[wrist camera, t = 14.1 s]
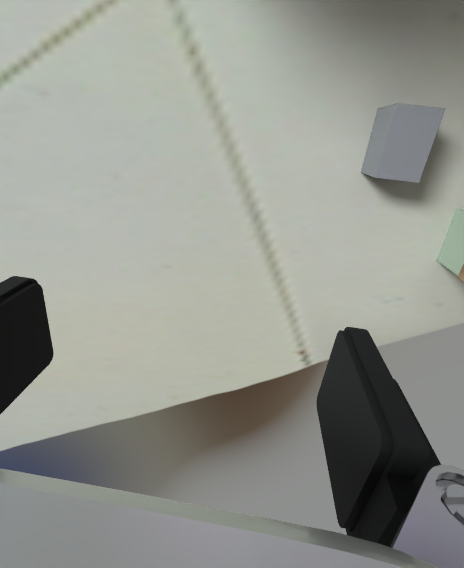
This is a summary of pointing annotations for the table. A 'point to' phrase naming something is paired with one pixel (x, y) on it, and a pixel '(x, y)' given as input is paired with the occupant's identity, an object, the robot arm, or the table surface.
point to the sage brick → (453, 244)
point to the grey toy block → (401, 141)
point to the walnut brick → (461, 274)
